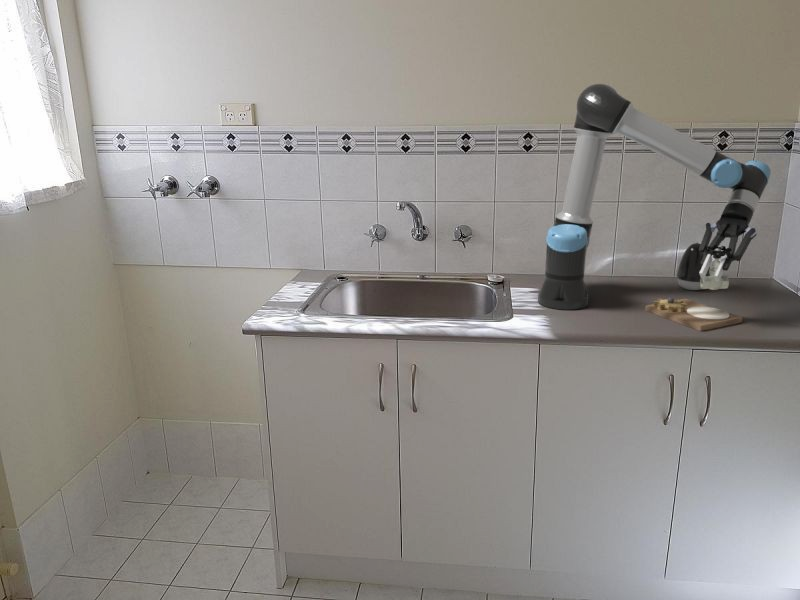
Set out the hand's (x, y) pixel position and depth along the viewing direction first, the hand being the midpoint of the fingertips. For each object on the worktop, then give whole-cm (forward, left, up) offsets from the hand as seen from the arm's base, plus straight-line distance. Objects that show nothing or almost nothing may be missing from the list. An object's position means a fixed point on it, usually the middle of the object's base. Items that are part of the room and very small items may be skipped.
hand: (709, 277), depth 176 cm
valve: (-2, +5, -5) cm, 7 cm away
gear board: (-5, +1, -13) cm, 14 cm away
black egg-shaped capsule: (-26, +24, -13) cm, 38 cm away
